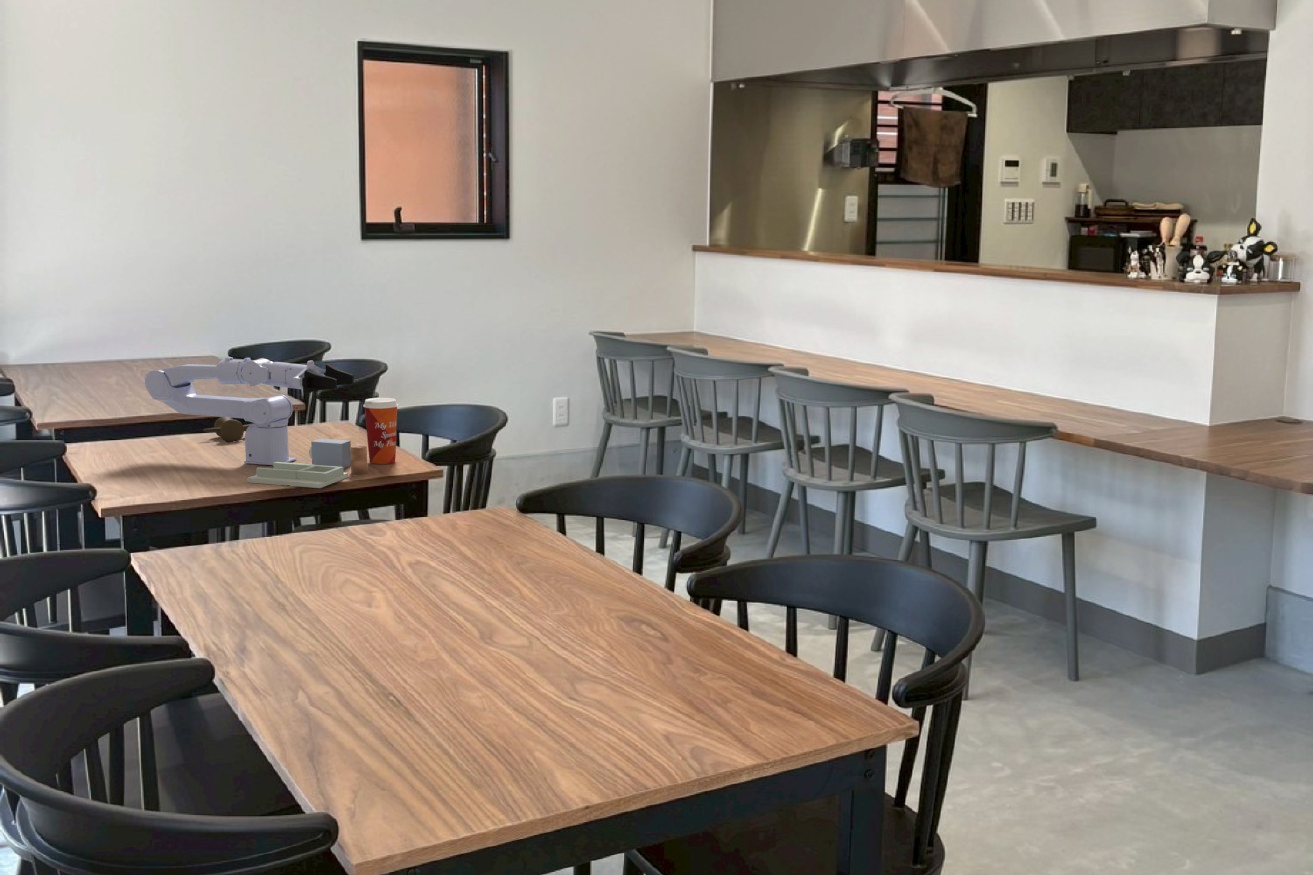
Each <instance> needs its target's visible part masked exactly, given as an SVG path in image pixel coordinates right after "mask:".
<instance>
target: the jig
mask: <svg viewBox="0 0 1313 875" xmlns="http://www.w3.org/2000/svg"><path fill="white" fill-rule="evenodd" d="M272 466H273V468H271V467H261V466H260V467H257V468H256V469H255V470H256V474H255V475H251V476H249V477H247V479H246V480H247V483H251V484H264V485H266V484H267V485H276V486H277V485H278V486H287V485H290V486H289V487H302V488H313V489H322V488H325V487H326V486H327V487H328V486H329V485H333V484H334V483H337V482H339V481H342V480H345V479H347V478H349V472H345V470H344V468H343V467H337V466H324V465H314V464H312V463H298V462H288V463H287V462H274V463H273V465H272Z"/></svg>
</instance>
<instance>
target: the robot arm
mask: <svg viewBox="0 0 1313 875" xmlns="http://www.w3.org/2000/svg"><path fill="white" fill-rule="evenodd" d="M306 362H307V363H306V364H300V363H290V362H282V361H271V360H270V359H267V358H264V357H261V358H258V359H253V360H252V359H251V357H245V358H243V359H234V357H231V356H228V357H225V358H224V359H221V360H220V361H219V362H218V363H217V364H197V363H195V364H192V363H191V364H189V363H188V364H182V365H176V366H175V365H174V366H171V367H166V368H162V369H159V370H158V369H154V370H153V369H152V370H151V371H148V373H146V375H145V378H144V385H145V388H146V390H147V392H148V393H149V394H148V395H150V396H151V398H152V399H153V400H155V401H157V402H158V401H159V402H161V403H163V404H165V405H166V406H168V407H169V408H171V409H173V410H174V411H175V412H177V413H179V414H181V415H194V416H204V417H205V416H206V417H207V416H208V417H219V418H220V417H230V418H232V419H243V420H244V421H245V422H249V423H252V424H253V423H254V424H253V425H250V426H249V427H248V428H247V430H246V431H245V434H244V448H245V450H244V451H245V460H244V462H243V463H244V464H251V465H263V466H273V463H274V462H287V463H292V462H294V461H296V460H297V457H293V456H292V457H290V455H289V454H290V453H289V452H290V451H289V431H288V430H289V427H288V423H289V419H290V417H291V416H292V414H293V411H294V410H293V409H294V408H293V407H294V406H293V402H292V401H291V399H290V398H289V397H288V396H286V395H284V394H275V395H273V396H271V397H255V398H254V397H253V398H251V397H240V396H239V397H238V396H222V395H211V394H210V395H207V394H197V393H196V392H197V391H196V389H195V386H194V384H193V382H194V381H195V380H212V379H213V380H218V382H219V383H220V384H223V385H250V387H256V386H259V385H261V384H262V385H268V386H273V387H278V388H279V387H280V388H287V389H296V390H302V392H303V394H305V395H307V394H311V393H313V392H317V391H327V390H328V391H330V390H335V389H337V388H338V386H349V385H354V384H355V383H354V381H355V379H354V378H355V377H354V376H355V375H354V374H352V373H350V372H347V371H344V370H341V369H339V368H338V367H336V366H335V364H330V363H327V364H325V369H323V368H321V367H319V366H317V365H315V361H314V360H308V361H306Z"/></svg>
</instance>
